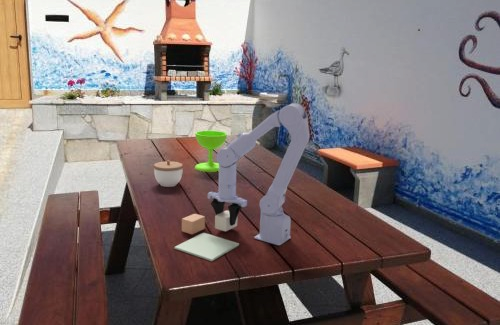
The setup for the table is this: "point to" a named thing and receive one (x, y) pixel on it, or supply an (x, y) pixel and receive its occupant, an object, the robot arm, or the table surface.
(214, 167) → the wineglass
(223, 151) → the robot arm
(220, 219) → the cream brick
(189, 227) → the tan brick
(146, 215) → the table surface
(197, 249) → the baseplate
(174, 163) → the lidded bowl
